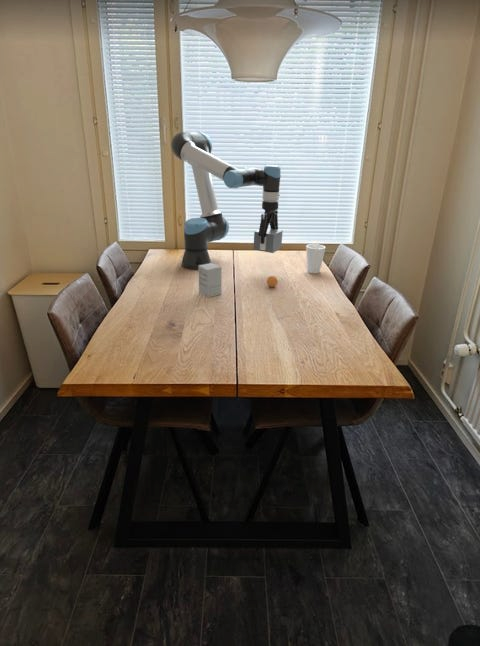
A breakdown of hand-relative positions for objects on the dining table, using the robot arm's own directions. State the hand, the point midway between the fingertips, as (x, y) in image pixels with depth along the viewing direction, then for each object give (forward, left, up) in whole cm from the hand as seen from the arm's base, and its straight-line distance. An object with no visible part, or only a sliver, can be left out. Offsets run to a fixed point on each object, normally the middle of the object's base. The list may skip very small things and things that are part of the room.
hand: (267, 247), depth 213 cm
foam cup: (+19, +17, -14) cm, 29 cm away
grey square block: (0, 0, -1) cm, 1 cm away
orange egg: (+11, -15, -11) cm, 21 cm away
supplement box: (-8, -38, -14) cm, 41 cm away
